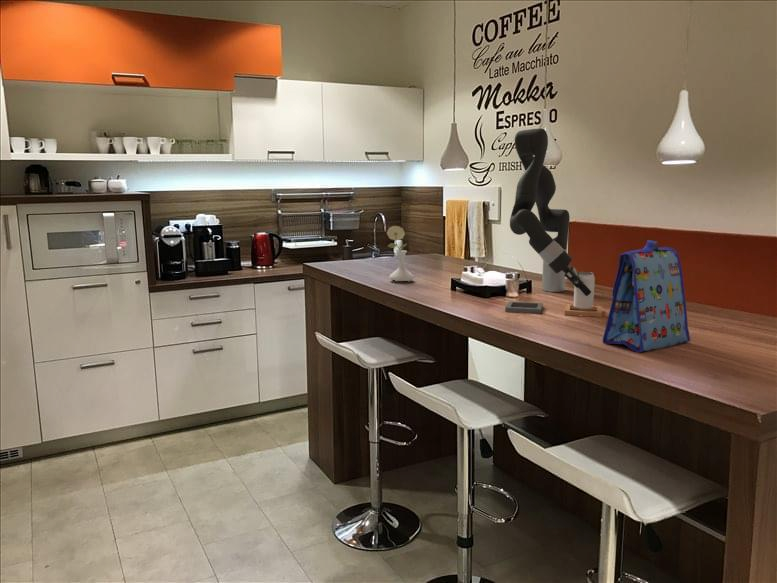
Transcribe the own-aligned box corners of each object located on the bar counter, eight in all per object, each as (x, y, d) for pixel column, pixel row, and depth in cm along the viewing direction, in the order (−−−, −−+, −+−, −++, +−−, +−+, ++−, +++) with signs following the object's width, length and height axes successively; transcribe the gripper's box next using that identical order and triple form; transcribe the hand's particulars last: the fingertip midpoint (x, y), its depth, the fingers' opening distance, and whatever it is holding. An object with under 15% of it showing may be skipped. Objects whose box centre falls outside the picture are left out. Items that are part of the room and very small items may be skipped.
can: (593, 309, 219) (596, 274, 217) (574, 308, 220) (576, 273, 218) (591, 306, 225) (594, 272, 223) (572, 305, 226) (574, 271, 224)
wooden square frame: (565, 308, 230) (565, 304, 230) (601, 310, 227) (601, 306, 227) (564, 315, 219) (564, 310, 219) (602, 317, 216) (602, 312, 215)
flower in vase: (418, 280, 293) (418, 225, 288) (408, 284, 282) (408, 226, 278) (391, 278, 298) (391, 224, 294) (381, 282, 288) (381, 226, 283)
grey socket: (509, 305, 236) (509, 301, 236) (542, 307, 233) (542, 302, 232) (505, 311, 225) (505, 307, 224) (540, 313, 221) (540, 309, 221)
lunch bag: (649, 333, 193) (656, 237, 188) (691, 343, 182) (699, 240, 177) (600, 343, 182) (606, 240, 177) (642, 354, 171) (650, 245, 166)
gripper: (563, 251, 215) (598, 288, 213) (564, 247, 228) (597, 282, 227) (545, 266, 217) (580, 303, 216) (548, 261, 231) (580, 296, 229)
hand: (589, 292), depth 221 cm, fingers closed on can, 6 cm apart
